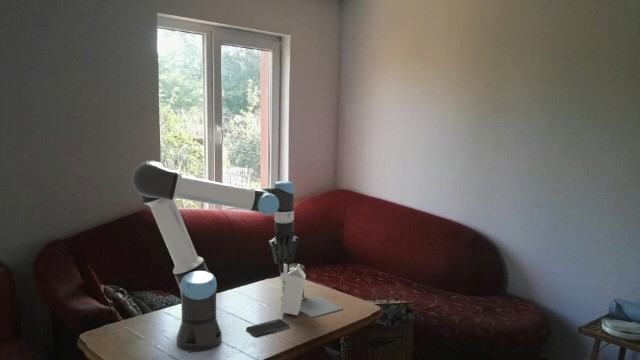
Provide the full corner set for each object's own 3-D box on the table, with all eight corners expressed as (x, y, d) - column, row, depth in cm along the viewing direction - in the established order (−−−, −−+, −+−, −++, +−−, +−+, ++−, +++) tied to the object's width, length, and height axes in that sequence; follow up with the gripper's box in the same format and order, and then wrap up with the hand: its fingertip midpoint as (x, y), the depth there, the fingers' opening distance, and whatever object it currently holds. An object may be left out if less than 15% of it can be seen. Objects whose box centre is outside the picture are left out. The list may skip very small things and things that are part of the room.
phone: (244, 327, 174) (279, 318, 183) (244, 330, 174) (279, 321, 183) (255, 335, 168) (290, 325, 177) (255, 338, 168) (290, 328, 177)
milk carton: (299, 311, 193) (307, 265, 193) (297, 315, 186) (305, 268, 186) (282, 307, 193) (290, 262, 193) (279, 312, 186) (288, 264, 186)
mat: (311, 318, 186) (311, 317, 186) (289, 305, 199) (289, 304, 199) (342, 309, 195) (343, 308, 195) (320, 297, 208) (320, 296, 208)
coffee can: (308, 298, 207) (309, 267, 205) (288, 303, 201) (289, 271, 199) (295, 292, 215) (296, 261, 214) (276, 296, 209) (276, 265, 207)
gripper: (274, 224, 177) (274, 285, 179) (303, 221, 184) (302, 279, 187) (264, 221, 183) (264, 280, 185) (293, 218, 190) (292, 274, 193)
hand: (283, 280), depth 186 cm, fingers closed
